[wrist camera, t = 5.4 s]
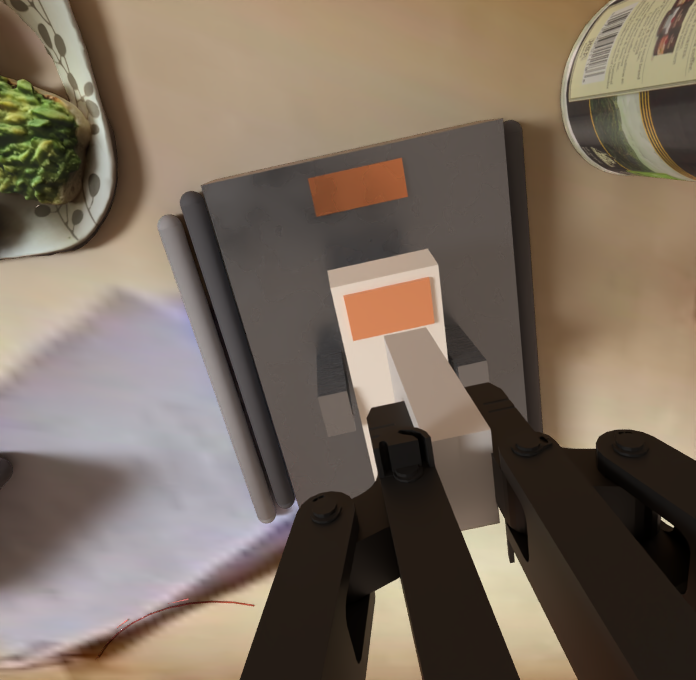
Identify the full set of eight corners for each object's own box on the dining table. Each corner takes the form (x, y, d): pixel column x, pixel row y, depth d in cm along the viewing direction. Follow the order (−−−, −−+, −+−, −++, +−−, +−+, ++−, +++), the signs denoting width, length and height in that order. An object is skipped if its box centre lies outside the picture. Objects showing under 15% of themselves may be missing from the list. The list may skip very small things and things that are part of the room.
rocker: (327, 270, 25) (330, 290, 23) (427, 248, 25) (439, 266, 23) (373, 470, 32) (378, 497, 30) (450, 453, 32) (461, 479, 30)
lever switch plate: (214, 179, 30) (176, 195, 22) (478, 120, 30) (546, 113, 21) (307, 498, 39) (307, 599, 30) (511, 454, 39) (568, 543, 30)
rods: (151, 199, 30) (144, 201, 29) (515, 118, 30) (525, 117, 29) (261, 516, 39) (259, 529, 38) (540, 456, 39) (548, 467, 38)
